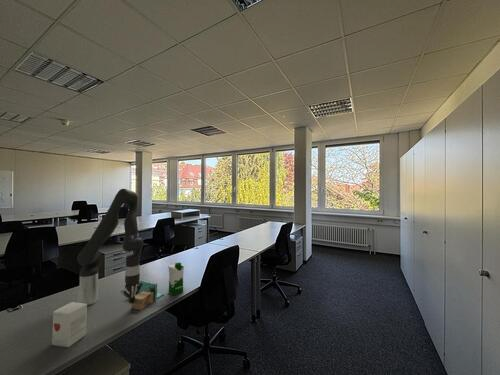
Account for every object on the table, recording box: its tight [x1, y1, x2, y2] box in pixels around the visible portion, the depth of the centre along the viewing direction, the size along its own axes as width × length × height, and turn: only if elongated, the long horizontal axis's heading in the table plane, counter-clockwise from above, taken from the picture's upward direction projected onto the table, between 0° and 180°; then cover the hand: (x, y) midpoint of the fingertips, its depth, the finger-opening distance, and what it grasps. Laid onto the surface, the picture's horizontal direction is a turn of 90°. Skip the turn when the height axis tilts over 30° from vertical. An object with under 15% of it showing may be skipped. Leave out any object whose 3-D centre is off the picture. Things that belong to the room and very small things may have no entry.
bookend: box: [136, 279, 165, 301], centre depth 144 cm, size 8×20×10 cm, turn 68°
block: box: [131, 290, 155, 310], centre depth 132 cm, size 10×7×6 cm
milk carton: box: [168, 262, 185, 296], centre depth 149 cm, size 9×9×20 cm
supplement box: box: [51, 301, 88, 348], centre depth 100 cm, size 9×9×15 cm
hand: (131, 302), depth 126 cm, fingers closed
